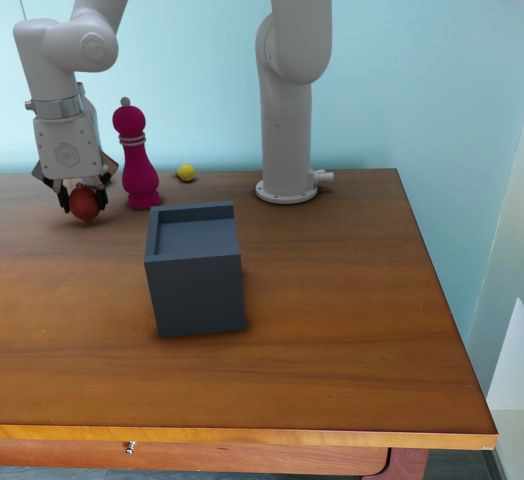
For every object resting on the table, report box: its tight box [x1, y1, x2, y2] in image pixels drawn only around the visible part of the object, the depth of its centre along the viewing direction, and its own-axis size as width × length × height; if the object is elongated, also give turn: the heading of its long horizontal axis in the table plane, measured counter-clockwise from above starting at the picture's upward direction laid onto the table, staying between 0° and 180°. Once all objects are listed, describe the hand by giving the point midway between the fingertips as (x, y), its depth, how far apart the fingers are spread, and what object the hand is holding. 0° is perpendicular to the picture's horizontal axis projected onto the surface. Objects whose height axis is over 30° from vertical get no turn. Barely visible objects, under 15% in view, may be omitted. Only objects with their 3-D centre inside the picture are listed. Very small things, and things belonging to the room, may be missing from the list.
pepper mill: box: [111, 96, 161, 210], centre depth 100 cm, size 7×7×20 cm
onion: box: [68, 182, 101, 224], centre depth 98 cm, size 6×6×8 cm
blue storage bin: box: [143, 200, 247, 339], centre depth 75 cm, size 12×16×12 cm
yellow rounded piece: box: [174, 163, 196, 182], centre depth 115 cm, size 3×6×4 cm, turn 43°
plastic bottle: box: [77, 81, 108, 187], centre depth 109 cm, size 6×7×20 cm
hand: (85, 208), depth 99 cm, fingers closed on onion, 5 cm apart
